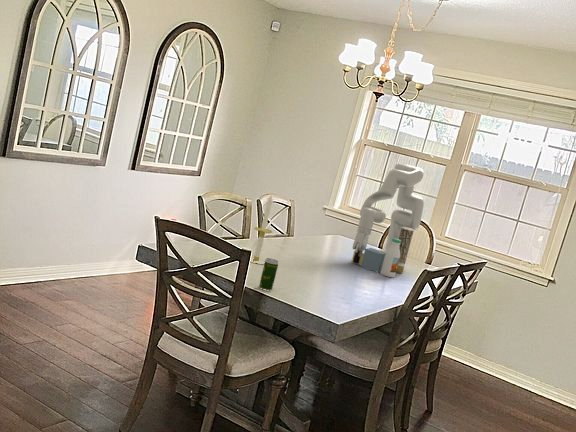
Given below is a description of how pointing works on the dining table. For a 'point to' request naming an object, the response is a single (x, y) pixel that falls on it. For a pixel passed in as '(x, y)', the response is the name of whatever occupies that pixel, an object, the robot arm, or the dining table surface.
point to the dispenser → (373, 259)
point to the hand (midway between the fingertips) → (356, 262)
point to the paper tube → (404, 247)
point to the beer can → (268, 274)
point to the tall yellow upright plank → (359, 259)
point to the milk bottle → (391, 259)
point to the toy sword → (262, 230)
